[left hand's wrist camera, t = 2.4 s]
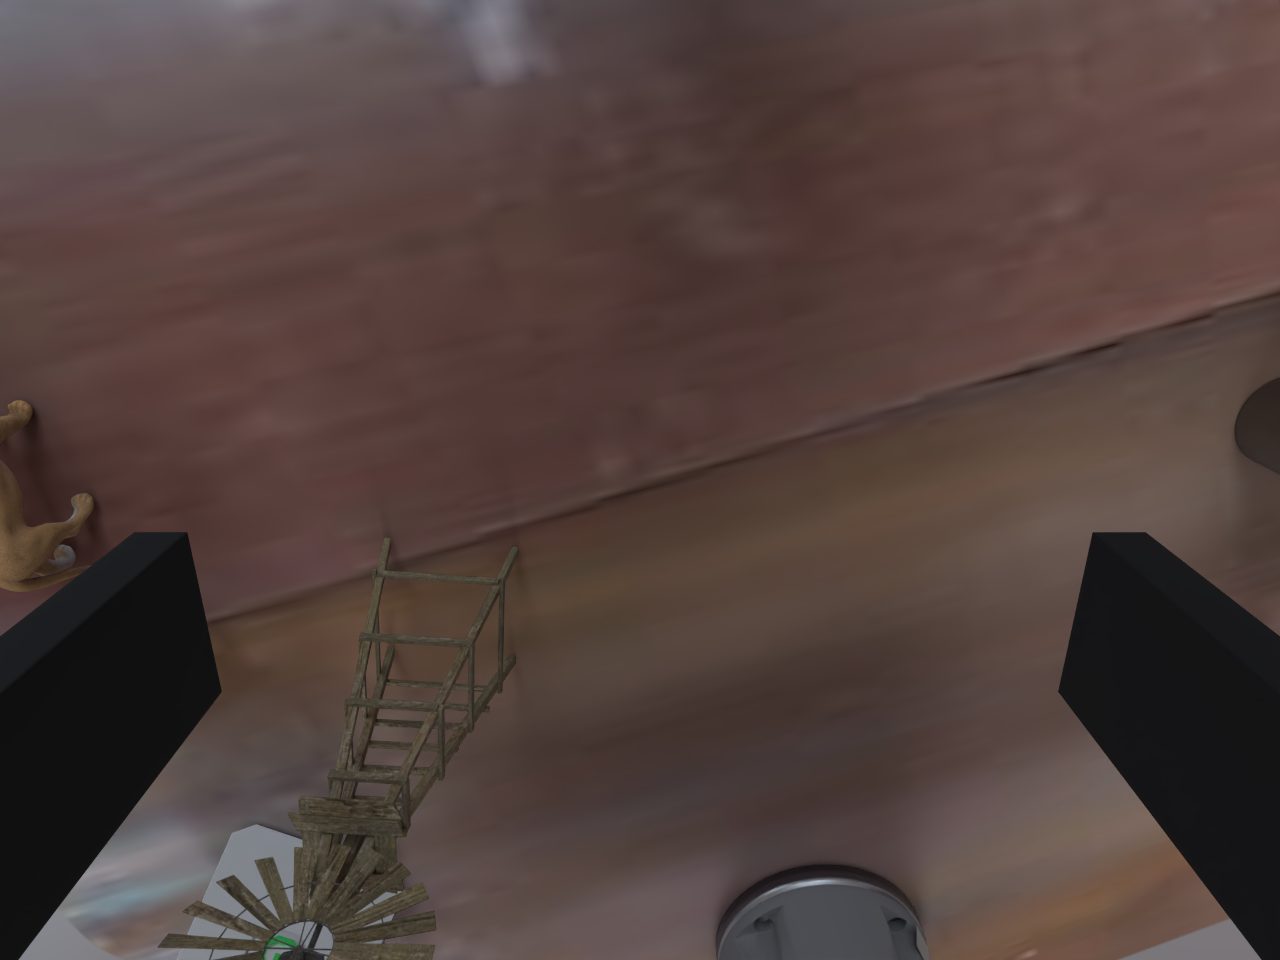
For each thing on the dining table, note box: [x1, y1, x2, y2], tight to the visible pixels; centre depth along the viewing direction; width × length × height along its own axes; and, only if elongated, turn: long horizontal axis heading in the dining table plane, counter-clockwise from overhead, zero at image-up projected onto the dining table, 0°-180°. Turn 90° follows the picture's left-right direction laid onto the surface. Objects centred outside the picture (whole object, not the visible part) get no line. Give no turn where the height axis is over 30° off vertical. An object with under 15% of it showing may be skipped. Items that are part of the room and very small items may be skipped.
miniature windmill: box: [158, 538, 519, 960], centre depth 39 cm, size 9×8×30 cm
